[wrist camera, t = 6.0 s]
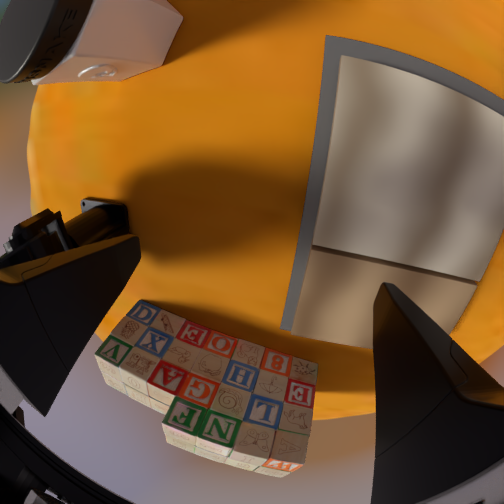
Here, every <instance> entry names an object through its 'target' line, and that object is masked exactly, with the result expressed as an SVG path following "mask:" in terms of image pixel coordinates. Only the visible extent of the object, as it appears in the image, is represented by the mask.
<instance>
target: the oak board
mask: <svg viewBox="0 0 504 504" xmlns="http://www.w3.org/2000/svg"><path fill="white" fill-rule="evenodd" d="M312 242H313V238H312ZM383 282H388V283H393V284H394V285H396V286H397V287H398V288H399V289H400V290H401V291H402V292H403V293H404V294H406V295H407V296H408V297H409V298H410V299H411V300H412V301H413V302H414V303H415V304H417V305H418V306H419V307H420V308H421V309H422V310H423V311H424V312H425V313H426V314H427V315H428V316H429V317H430V318H432V319H433V320H434V321H435V322H436V323H437V324H438V325H439V326H440V327H441V328H442V329H443V330H444V331H445V332H446V333H447V334H448V335H449V334H450V333H451V331H452V330H453V328H454V326H455V325H456V323H457V322H458V320H459V318H460V317H461V315H462V313H463V312H464V310H465V308H466V306H467V304H468V303H469V301H470V299H471V297H472V295H473V293H474V291H475V290H476V288H477V284H476V283H475V281H474V280H471V279H467V278H463V277H458V276H454V275H450V274H446V273H441V272H437V271H433V270H428V269H424V268H420V267H415V266H411V265H406V264H402V263H397V262H393V261H388V260H384V259H379V258H375V257H370V256H365V255H361V254H356V253H351V252H346V251H342V250H337V249H332V248H327V247H322V246H317V245H312V243H311V247H310V252H309V257H308V261H307V266H306V270H305V274H304V279H303V283H302V287H301V292H300V296H299V300H298V304H297V308H296V312H295V316H294V320H293V325H292V330H291V335H296V336H301V337H306V338H311V339H316V340H321V341H327V342H332V343H338V344H344V345H350V346H356V347H363V348H369V349H373V304H374V300H375V298H376V295H377V293H378V290H379V288H380V285H381V284H382V283H383Z"/></svg>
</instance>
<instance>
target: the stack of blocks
mask: <svg viewBox="0 0 504 504" xmlns="http://www.w3.org/2000/svg"><path fill="white" fill-rule="evenodd" d="M95 357H96V360H97V362H98V365H99V368H100V370H101V372H102V374H103V377H104V379H105V381H106V384H108V385H109V386H112V387H113V388H115V389H116V390H119V391H120V392H122V393H124V394H126V395H128V396H129V397H130V398H132V399H134V400H136V401H138V402H140V403H142V404H144V405H146V406H148V407H150V408H152V409H154V410H156V411H158V412H160V413H163V414H165V417H164V419H163V421H162V425H163V430H164V433H165V435H166V442H167V443H170V444H172V445H174V446H177V447H179V448H182V449H184V450H187V451H189V452H192V453H195V454H197V455H200V456H202V457H205V458H208V459H211V460H214V461H217V462H221V463H225V464H228V465H232V466H235V467H239V468H242V469H246V470H250V471H254V472H257V473H262V474H266V475H271V476H276V477H283V476H285V475H287V474H289V473H291V472H293V471H295V470H296V469H298V468H300V467H301V466H303V465H304V463H305V458H306V452H307V445H308V439H309V436H310V431H311V423H312V417H313V406H314V397H315V385H316V381H317V372H318V364H317V363H313V362H310V361H306V360H303V359H300V358H296V357H293V356H291V355H288V354H285V353H282V352H278V351H275V350H272V349H269V348H265V347H263V346H260V345H257V344H254V343H251V342H248V341H245V340H243V339H237V338H235V337H231V336H228V335H226V334H223V333H220V332H218V331H215V330H211V329H209V328H206V327H204V326H201V325H199V324H196V323H193V322H191V321H187V320H186V319H184V318H182V317H179V316H177V315H174V314H172V313H170V312H167V311H165V310H162V309H160V308H158V307H156V306H154V305H151V304H149V303H147V302H144V301H142V300H139V301H138V302H137V303H136V304H135V305H134V307H133V308H132V309H131V310H130V311H129V312H128V313H127V314H126V316H125V317H123V319H122V320H121V321H120V322H119V323H118V324H117V326H116V327H115V328H114V329H113V330H112V332H111V333H110V335H109V336H108V337H107V339H106V340H105V341H104V342H103V343H102V345H101V346H100V347H99V349H98V350H97V351H96V352H95Z"/></svg>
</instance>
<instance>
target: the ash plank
mask: <svg viewBox="0 0 504 504" xmlns="http://www.w3.org/2000/svg"><path fill="white" fill-rule="evenodd" d="M503 229H504V117H503V116H502V115H500V114H498V113H497V112H495V111H493V110H492V109H490V108H488V107H486V106H484V105H483V104H481V103H479V102H477V101H475V100H473V99H471V98H469V97H467V96H465V95H463V94H461V93H459V92H457V91H454V90H452V89H450V88H448V87H445V86H443V85H441V84H438V83H436V82H433V81H431V80H428V79H425V78H423V77H420V76H417V75H414V74H411V73H408V72H405V71H402V70H399V69H396V68H393V67H389V66H386V65H382V64H379V63H375V62H371V61H367V60H363V59H358V58H354V57H349V56H344V55H341V58H340V63H339V73H338V83H337V92H336V100H335V108H334V116H333V123H332V130H331V137H330V144H329V150H328V157H327V163H326V169H325V175H324V180H323V186H322V192H321V197H320V203H319V208H318V213H317V218H316V223H315V228H314V234H313V242H312V245H317V246H322V247H327V248H332V249H337V250H342V251H346V252H351V253H356V254H361V255H365V256H370V257H375V258H379V259H384V260H388V261H393V262H397V263H402V264H406V265H411V266H415V267H420V268H424V269H428V270H433V271H437V272H441V273H446V274H450V275H454V276H458V277H463V278H467V279H471V280H475V281H479V282H480V280H481V278H482V276H483V274H484V272H485V270H486V268H487V266H488V264H489V262H490V260H491V257H492V255H493V253H494V251H495V249H496V246H497V244H498V242H499V239H500V237H501V234H502V232H503Z"/></svg>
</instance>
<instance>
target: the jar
mask: <svg viewBox="0 0 504 504" xmlns="http://www.w3.org/2000/svg"><path fill="white" fill-rule="evenodd" d="M182 20H183V16H182V15H181V14H180V13H179V12H178V11H177V10H176V9H175V8H174V7H173V6H172V5H171V4H170V3H169V2H168V1H167V0H11V2H10V4H9V5H8V7H7V10H6V12H5V14H4V16H3V19H2V21H1V24H0V82H2V83H12V82H14V83H20V82H28V81H32V83H33V85H41V84H50V83H62V82H81V81H122V80H124V79H127V78H129V77H132V76H135V75H137V74H140V73H143V72H145V71H148V70H151V69H154V68H157V67H160V66H161V65H162V64H163V62H164V59H165V57H166V55H167V52H168V50H169V48H170V45H171V43H172V41H173V39H174V37H175V35H176V32H177V30H178V28H179V26H180V24H181V22H182Z"/></svg>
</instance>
